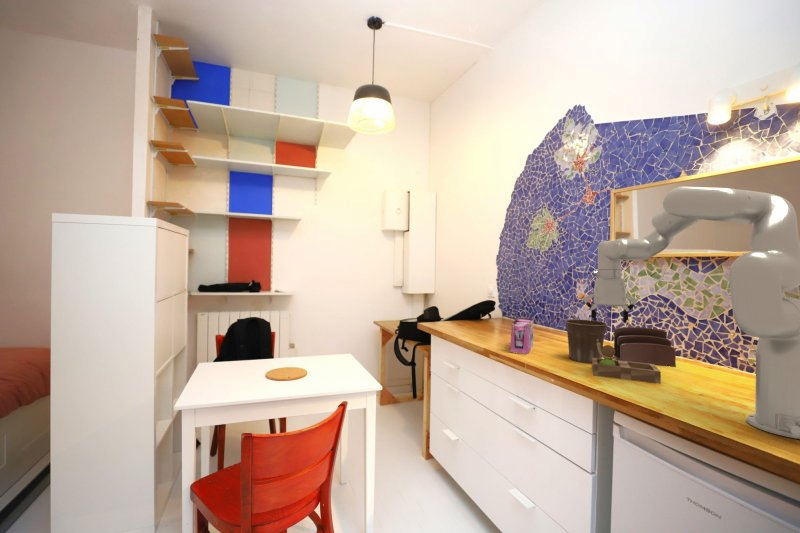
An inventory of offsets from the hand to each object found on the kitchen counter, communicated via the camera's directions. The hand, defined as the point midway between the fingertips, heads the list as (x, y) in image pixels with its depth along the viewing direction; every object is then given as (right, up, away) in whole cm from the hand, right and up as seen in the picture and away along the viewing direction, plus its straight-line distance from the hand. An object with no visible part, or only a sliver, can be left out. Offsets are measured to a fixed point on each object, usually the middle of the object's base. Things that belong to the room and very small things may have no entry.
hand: (609, 321), depth 136 cm
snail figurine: (-1, -19, 0) cm, 19 cm away
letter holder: (+25, -20, +19) cm, 38 cm away
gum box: (-19, -20, +40) cm, 48 cm away
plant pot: (+1, -20, +20) cm, 28 cm away
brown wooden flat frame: (+4, -19, -2) cm, 20 cm away
